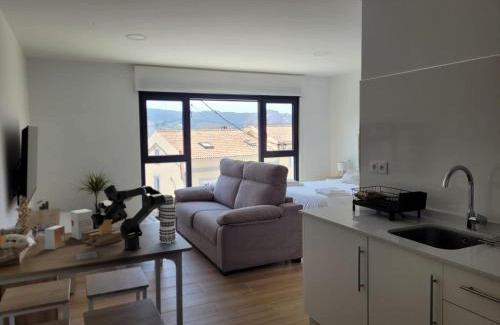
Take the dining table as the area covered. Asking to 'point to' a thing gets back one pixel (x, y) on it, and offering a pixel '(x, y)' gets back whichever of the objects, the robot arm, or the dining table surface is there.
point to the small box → (55, 237)
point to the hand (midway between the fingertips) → (103, 225)
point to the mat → (86, 255)
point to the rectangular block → (105, 227)
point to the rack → (100, 237)
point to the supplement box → (81, 222)
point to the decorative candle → (167, 220)
